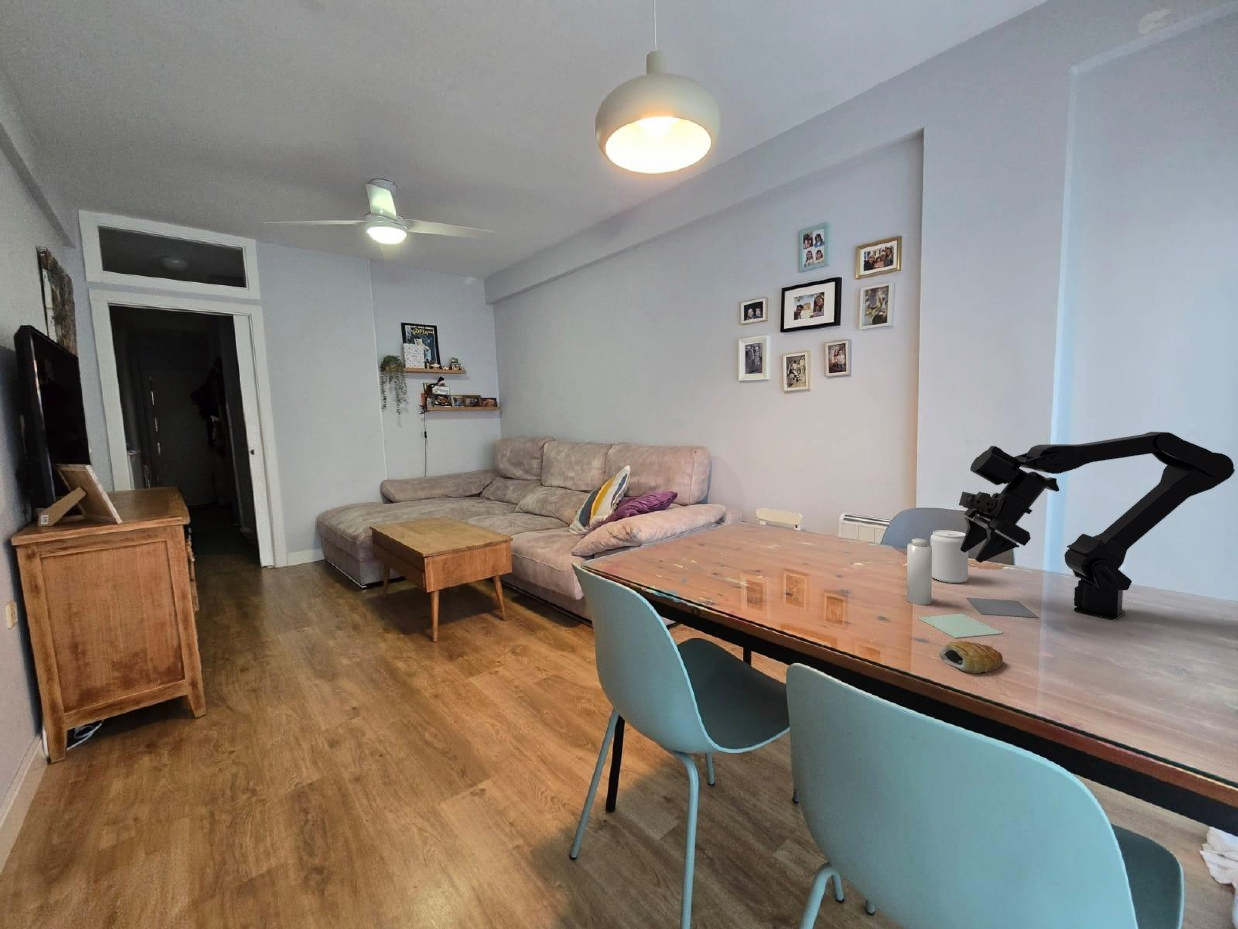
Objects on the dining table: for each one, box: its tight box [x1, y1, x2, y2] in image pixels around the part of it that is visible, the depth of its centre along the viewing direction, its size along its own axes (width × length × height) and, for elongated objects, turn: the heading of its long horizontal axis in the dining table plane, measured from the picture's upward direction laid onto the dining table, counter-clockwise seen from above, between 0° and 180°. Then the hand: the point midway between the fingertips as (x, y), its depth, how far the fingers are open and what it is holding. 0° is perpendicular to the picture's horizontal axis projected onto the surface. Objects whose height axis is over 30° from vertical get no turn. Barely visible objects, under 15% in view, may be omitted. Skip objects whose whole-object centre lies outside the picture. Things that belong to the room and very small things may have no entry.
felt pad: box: [965, 597, 1040, 619], centre depth 110 cm, size 10×10×1 cm
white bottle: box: [906, 538, 933, 606], centre depth 115 cm, size 5×5×14 cm
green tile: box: [917, 613, 1004, 639], centre depth 102 cm, size 10×10×1 cm
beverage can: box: [929, 529, 969, 584], centre depth 130 cm, size 8×8×12 cm
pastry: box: [938, 640, 1004, 674], centre depth 86 cm, size 9×7×4 cm
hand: (969, 556), depth 111 cm, fingers open, 9 cm apart
